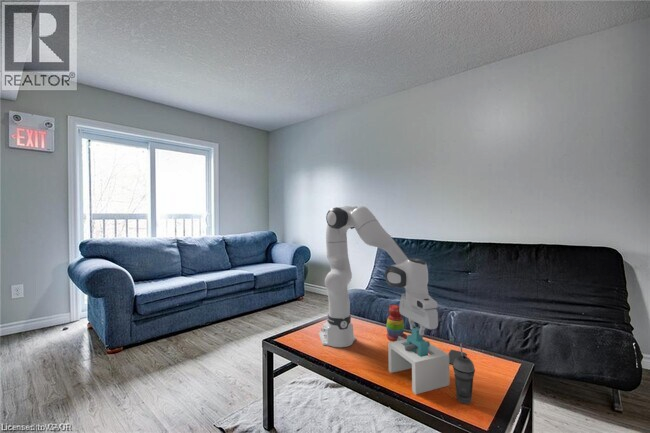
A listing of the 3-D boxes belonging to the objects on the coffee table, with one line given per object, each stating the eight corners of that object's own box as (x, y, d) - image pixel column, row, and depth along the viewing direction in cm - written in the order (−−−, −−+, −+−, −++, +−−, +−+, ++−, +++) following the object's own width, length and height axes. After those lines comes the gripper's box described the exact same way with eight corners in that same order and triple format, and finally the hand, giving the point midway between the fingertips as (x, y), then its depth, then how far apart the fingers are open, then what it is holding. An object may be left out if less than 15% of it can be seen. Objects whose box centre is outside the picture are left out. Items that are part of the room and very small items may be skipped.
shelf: (388, 370, 126) (388, 338, 126) (419, 363, 131) (418, 332, 131) (415, 394, 109) (415, 356, 109) (449, 385, 115) (449, 349, 115)
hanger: (407, 361, 124) (406, 325, 124) (414, 359, 125) (413, 324, 125) (420, 371, 115) (420, 333, 115) (428, 369, 117) (428, 332, 117)
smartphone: (467, 352, 140) (461, 365, 128) (467, 354, 140) (461, 367, 128) (450, 349, 145) (443, 361, 132) (450, 351, 145) (443, 363, 132)
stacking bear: (408, 337, 160) (408, 304, 160) (401, 344, 152) (401, 309, 151) (389, 332, 166) (389, 301, 166) (382, 339, 158) (382, 305, 158)
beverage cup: (464, 408, 101) (464, 350, 101) (448, 396, 107) (447, 342, 107) (480, 403, 104) (479, 346, 104) (462, 391, 110) (462, 338, 110)
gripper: (395, 293, 129) (395, 324, 129) (427, 306, 110) (427, 343, 110) (407, 291, 131) (407, 322, 131) (440, 304, 112) (441, 340, 112)
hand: (417, 332), depth 120 cm, fingers open, 3 cm apart
